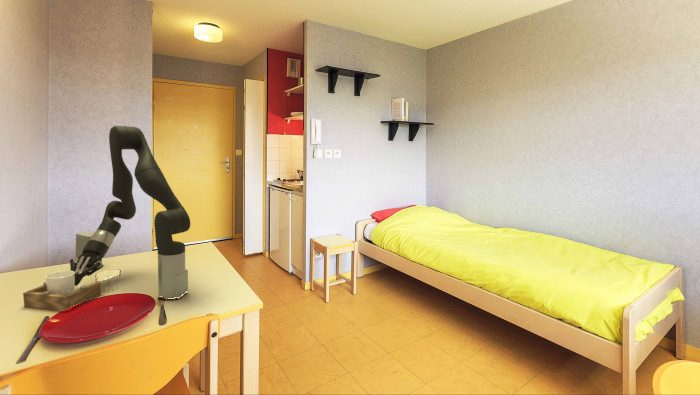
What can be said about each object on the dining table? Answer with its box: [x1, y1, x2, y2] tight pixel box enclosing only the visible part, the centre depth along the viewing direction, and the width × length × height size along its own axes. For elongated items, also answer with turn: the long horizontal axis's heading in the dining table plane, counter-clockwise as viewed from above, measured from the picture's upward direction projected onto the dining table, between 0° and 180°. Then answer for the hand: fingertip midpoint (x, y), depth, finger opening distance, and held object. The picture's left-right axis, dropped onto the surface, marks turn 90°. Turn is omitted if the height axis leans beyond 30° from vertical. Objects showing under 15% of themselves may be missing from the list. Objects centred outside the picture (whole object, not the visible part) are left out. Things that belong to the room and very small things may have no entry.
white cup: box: [45, 270, 76, 295], centre depth 120 cm, size 8×8×10 cm
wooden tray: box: [22, 281, 102, 312], centre depth 121 cm, size 16×14×6 cm
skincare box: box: [75, 231, 103, 264], centre depth 152 cm, size 8×7×16 cm
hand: (72, 284), depth 124 cm, fingers closed
